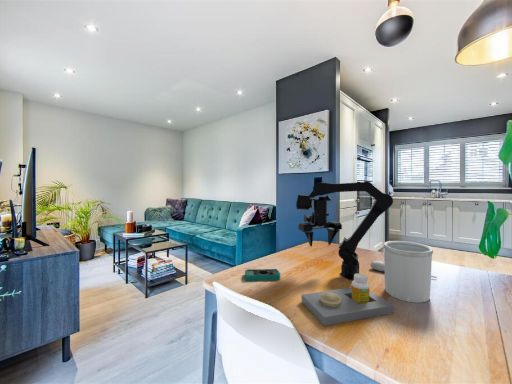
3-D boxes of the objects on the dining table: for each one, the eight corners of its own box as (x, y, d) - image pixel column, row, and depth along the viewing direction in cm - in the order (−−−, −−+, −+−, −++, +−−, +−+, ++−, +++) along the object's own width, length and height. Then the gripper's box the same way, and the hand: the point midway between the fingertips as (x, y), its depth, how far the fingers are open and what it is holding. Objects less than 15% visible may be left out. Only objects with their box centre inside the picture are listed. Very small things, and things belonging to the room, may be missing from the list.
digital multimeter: (281, 281, 98) (281, 274, 98) (245, 282, 97) (245, 275, 97) (278, 274, 106) (278, 267, 105) (244, 275, 105) (244, 268, 104)
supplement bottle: (360, 310, 75) (361, 280, 75) (347, 302, 80) (348, 274, 79) (373, 306, 77) (373, 277, 77) (359, 299, 82) (360, 271, 82)
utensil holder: (419, 308, 76) (420, 254, 75) (374, 290, 89) (375, 243, 88) (439, 296, 84) (441, 247, 83) (395, 281, 96) (396, 238, 96)
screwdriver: (437, 285, 97) (438, 276, 96) (369, 271, 109) (370, 262, 108) (435, 278, 101) (437, 269, 100) (370, 265, 113) (371, 257, 112)
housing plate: (361, 292, 87) (361, 281, 87) (393, 313, 73) (393, 300, 73) (301, 301, 80) (301, 290, 80) (324, 326, 67) (324, 312, 67)
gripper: (328, 208, 116) (328, 239, 117) (293, 209, 111) (293, 242, 112) (342, 210, 105) (342, 245, 106) (304, 212, 100) (304, 249, 101)
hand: (320, 245), depth 106 cm, fingers open, 9 cm apart
